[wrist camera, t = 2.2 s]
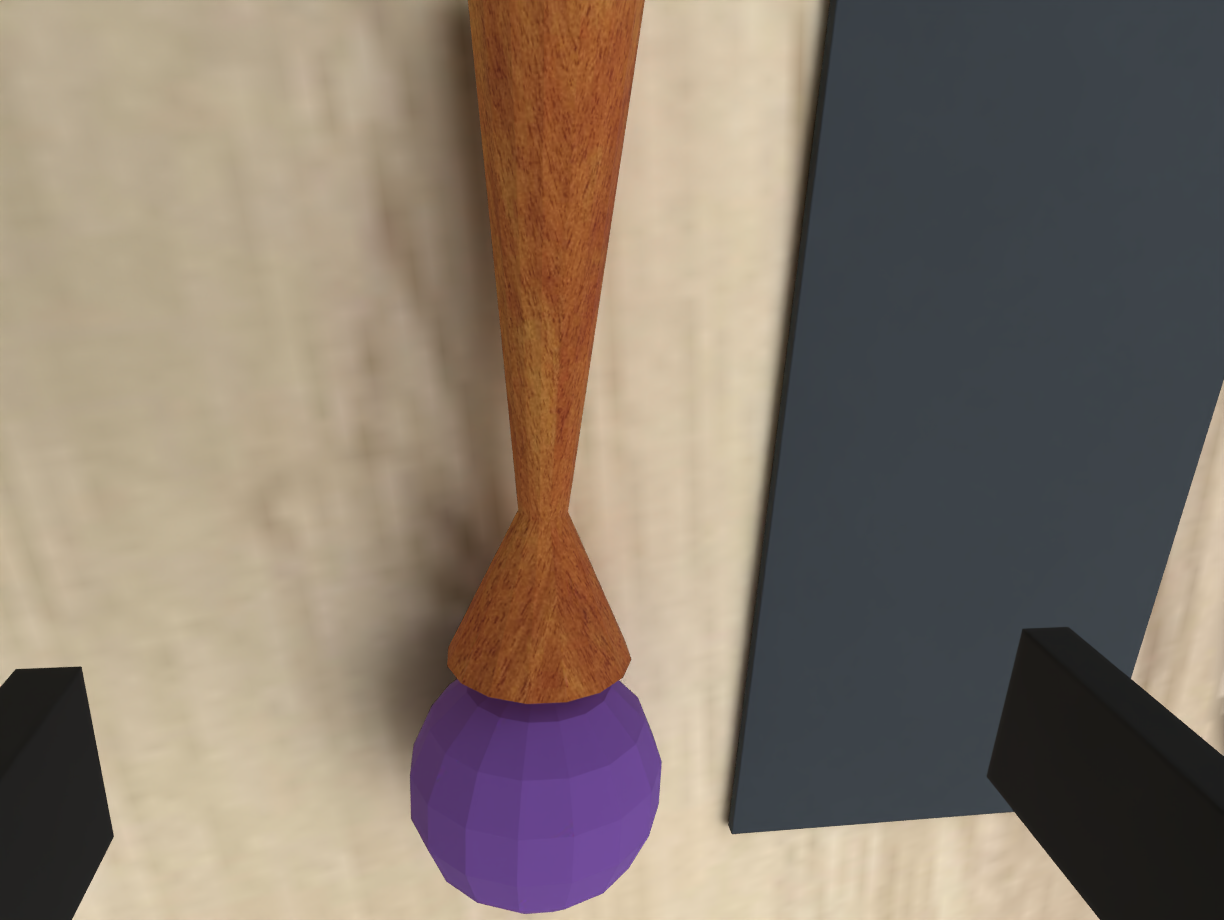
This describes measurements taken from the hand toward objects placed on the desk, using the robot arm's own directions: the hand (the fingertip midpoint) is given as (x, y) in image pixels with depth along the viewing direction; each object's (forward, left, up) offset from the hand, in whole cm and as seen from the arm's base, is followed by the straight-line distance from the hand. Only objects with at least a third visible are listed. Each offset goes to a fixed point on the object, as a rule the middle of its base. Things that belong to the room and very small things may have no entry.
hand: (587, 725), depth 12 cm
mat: (0, +12, -10) cm, 15 cm away
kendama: (0, 0, -10) cm, 10 cm away
